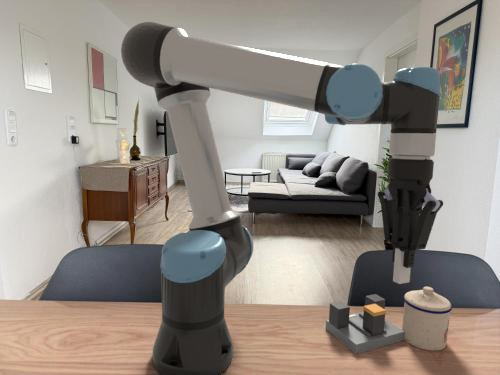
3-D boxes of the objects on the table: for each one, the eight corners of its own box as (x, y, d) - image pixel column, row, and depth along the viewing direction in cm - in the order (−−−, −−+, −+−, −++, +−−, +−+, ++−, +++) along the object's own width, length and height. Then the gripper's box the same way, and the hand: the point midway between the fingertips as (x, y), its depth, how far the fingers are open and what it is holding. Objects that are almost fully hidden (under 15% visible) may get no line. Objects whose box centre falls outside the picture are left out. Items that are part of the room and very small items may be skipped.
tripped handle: (372, 336, 71) (374, 312, 70) (362, 328, 74) (363, 306, 73) (383, 333, 72) (385, 310, 72) (373, 326, 75) (375, 303, 74)
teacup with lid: (455, 354, 69) (461, 299, 68) (407, 349, 70) (413, 295, 69) (432, 323, 81) (437, 276, 79) (391, 320, 82) (395, 273, 81)
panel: (355, 353, 69) (357, 323, 68) (325, 328, 78) (327, 301, 77) (404, 340, 74) (406, 311, 73) (370, 318, 83) (372, 292, 82)
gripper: (458, 159, 58) (446, 292, 62) (398, 155, 70) (389, 267, 73) (427, 159, 55) (415, 299, 59) (369, 156, 67) (362, 272, 70)
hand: (401, 281), depth 66 cm, fingers closed
